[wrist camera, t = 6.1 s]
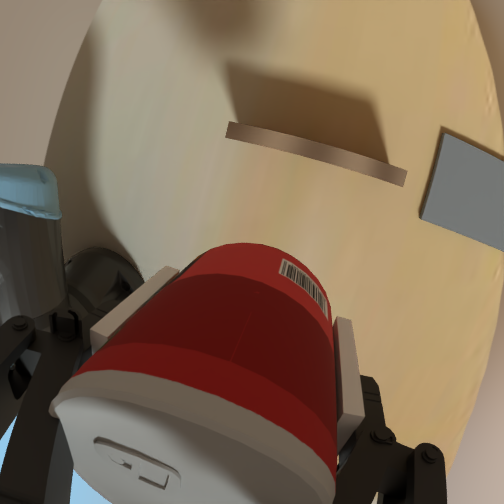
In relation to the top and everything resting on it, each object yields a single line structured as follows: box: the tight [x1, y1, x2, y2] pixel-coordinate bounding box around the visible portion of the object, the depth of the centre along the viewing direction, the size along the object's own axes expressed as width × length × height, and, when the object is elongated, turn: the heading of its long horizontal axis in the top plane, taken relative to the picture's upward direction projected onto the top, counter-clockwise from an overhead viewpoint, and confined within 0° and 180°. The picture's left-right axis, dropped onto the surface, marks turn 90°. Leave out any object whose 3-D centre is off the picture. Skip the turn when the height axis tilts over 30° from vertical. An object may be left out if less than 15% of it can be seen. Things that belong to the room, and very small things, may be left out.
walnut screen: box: [225, 121, 407, 187], centre depth 29 cm, size 16×2×7 cm, turn 77°
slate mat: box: [419, 133, 504, 252], centre depth 30 cm, size 14×10×1 cm
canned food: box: [49, 243, 337, 504], centre depth 11 cm, size 8×8×11 cm
